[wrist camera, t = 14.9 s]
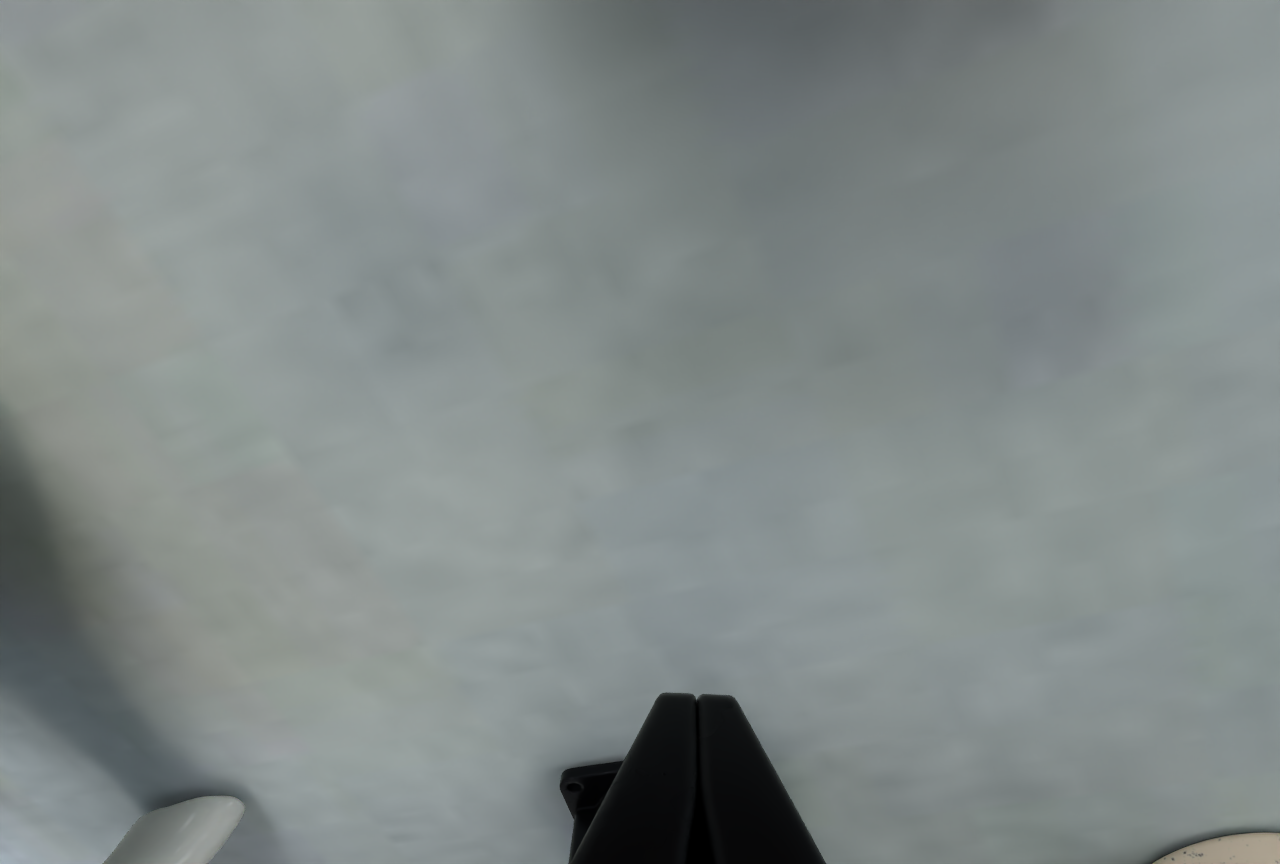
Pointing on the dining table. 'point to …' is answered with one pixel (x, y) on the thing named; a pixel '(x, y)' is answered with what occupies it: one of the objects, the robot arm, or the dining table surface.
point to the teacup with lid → (1229, 850)
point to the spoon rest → (180, 832)
